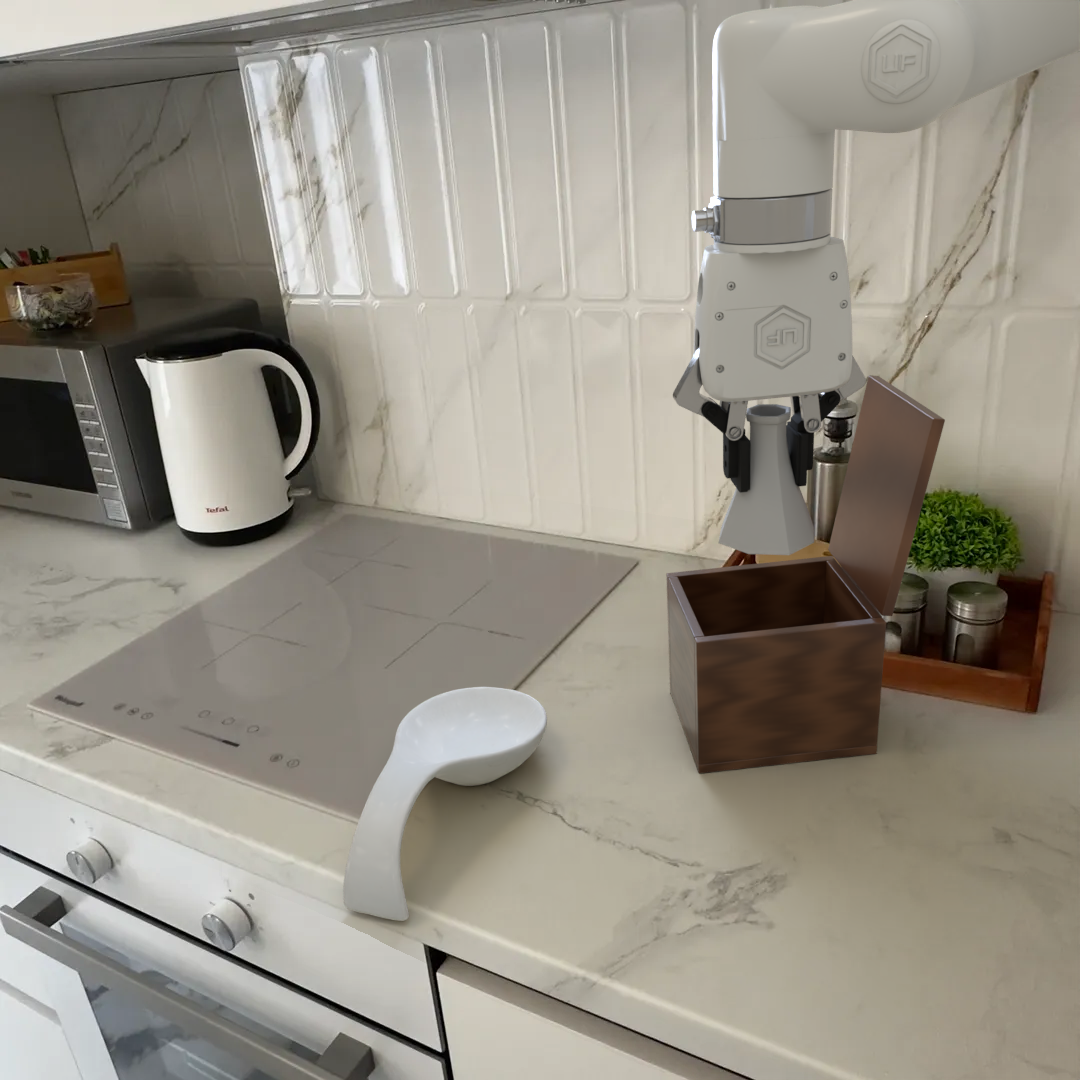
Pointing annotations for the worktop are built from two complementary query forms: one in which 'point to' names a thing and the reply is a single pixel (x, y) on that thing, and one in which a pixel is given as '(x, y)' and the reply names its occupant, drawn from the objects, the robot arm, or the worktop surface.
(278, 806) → the worktop surface
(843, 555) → the lid
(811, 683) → the box
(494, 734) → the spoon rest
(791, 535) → the flask
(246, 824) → the worktop surface
